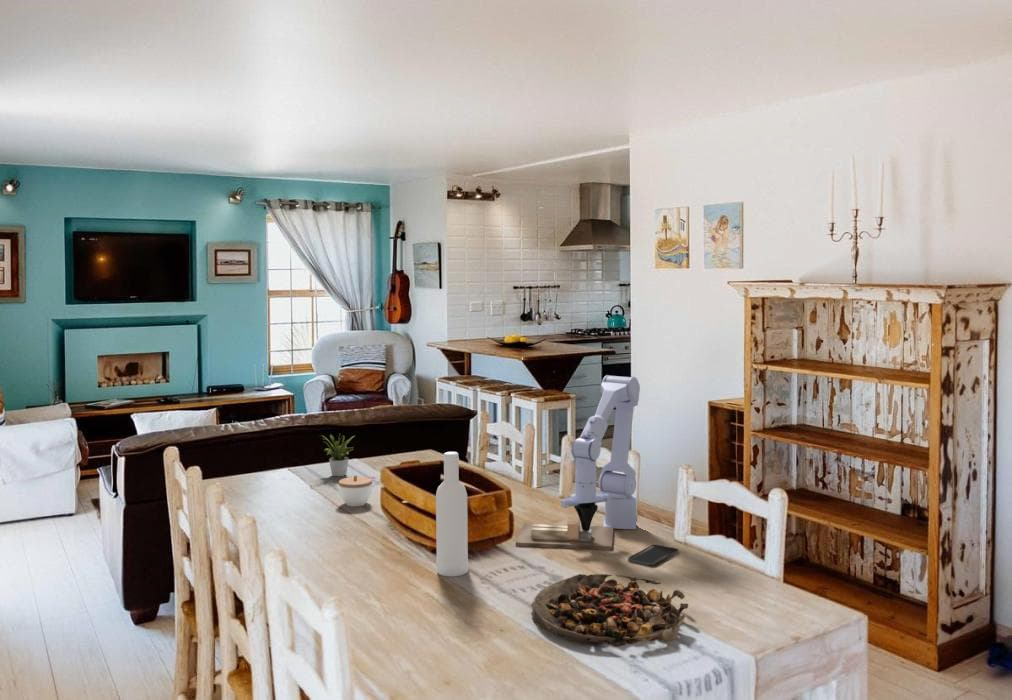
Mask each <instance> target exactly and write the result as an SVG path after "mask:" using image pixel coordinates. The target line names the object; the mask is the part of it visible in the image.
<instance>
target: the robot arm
mask: <svg viewBox="0 0 1012 700" xmlns="http://www.w3.org/2000/svg"><path fill="white" fill-rule="evenodd" d="M640 389H641V385H640V383H639V380H638V378H637V377H635V376H631V377H630V376H619V375H618V376H617V375H610V374H606V375H605V376H604V377H603V378H602V380H601V384H600V393H601V398H600V400H599V403H598V405H597V408H596V412H595V414H594V415H592V416H590V417H589V418H588V420H587V422H586V423H585V426H584V428H583V430H582V432H581V434H580V436H579V437H578V438H575V439H574V440H573V442H572V444H571V449H570V453H571V456H572V459H573V462H572V463H573V465H574V467H575V471H574V474H575V475H574V478H575V481H574V482H575V485H574V488H575V489H574V491H575V492H574V493H575V495H573V496H570V497H567V498H563V499H562V498H561V499H560V507H561V508H564V509H566V508H568V507H574V508H573V509H575V511H576V513H577V515H578V518H580V526H582V530H584V531H589V529H590V526H592V521H593V518H594V517H595V513H596V512H597V510H598V508H599V506H598V503H604V519H603V523H602V524H603V525H602V526H603V527H613V530H615V529H616V530H617V529H618V530H620V529H621V530H637V522H638V515H637V496H635V495H634V494H635V492H636V489H637V479H636V473H637V471H636V470H635V469H634V468H633V467H632V466H631V464H629V453H630V443H631V435H632V434H631V433H632V427H633V417H634V410H635V407H636V406H638V405H639V399H640ZM614 408H615V409H616V410H615V420H614V427H613V437H612V445H611V451H610V453H611V454H610V461H609V462H607V463H606V464H605V465H603V466H602V469H601V471H600V472H601V473H600V476H599V478H598V488H599V491H600V492H601V493H597V460H598V459H599V457H600V454H601V449H602V444H603V442H602V440H603V439H604V438H603V437H604V435H605V433H606V432H607V429H608V427H609V426H608V423H607V420H608V419H609V417H610V415H611V413H612V412H613V410H614ZM618 472H619V473H618Z"/></svg>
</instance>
